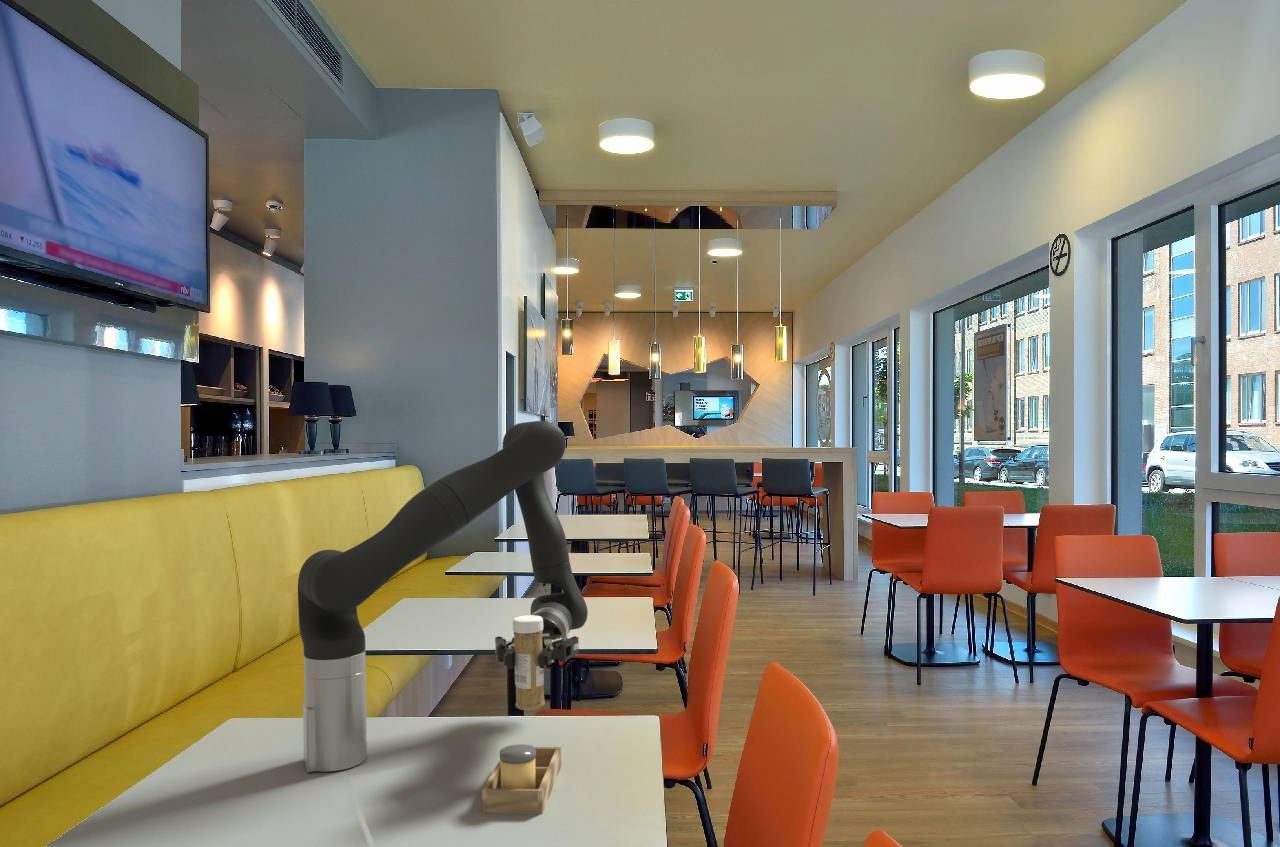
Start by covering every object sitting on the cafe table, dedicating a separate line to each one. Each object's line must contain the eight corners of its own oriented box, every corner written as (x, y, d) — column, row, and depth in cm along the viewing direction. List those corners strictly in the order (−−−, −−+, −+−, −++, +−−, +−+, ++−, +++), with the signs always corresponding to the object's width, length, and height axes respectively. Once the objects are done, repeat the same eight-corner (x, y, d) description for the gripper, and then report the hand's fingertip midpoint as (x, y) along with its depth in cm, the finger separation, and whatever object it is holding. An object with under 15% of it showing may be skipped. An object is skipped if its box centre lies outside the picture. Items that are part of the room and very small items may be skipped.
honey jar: (506, 810, 117) (505, 760, 117) (495, 796, 121) (495, 748, 122) (541, 802, 119) (540, 753, 119) (529, 789, 124) (529, 742, 124)
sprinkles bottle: (550, 707, 130) (548, 617, 130) (523, 713, 128) (521, 622, 128) (536, 699, 134) (534, 612, 134) (509, 705, 131) (507, 617, 131)
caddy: (542, 817, 116) (542, 790, 116) (482, 816, 117) (481, 790, 117) (561, 770, 132) (560, 747, 132) (508, 769, 132) (507, 746, 132)
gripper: (502, 611, 145) (477, 636, 128) (586, 611, 145) (573, 636, 128) (502, 656, 145) (478, 687, 128) (587, 656, 145) (573, 687, 128)
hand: (525, 661), depth 128 cm, fingers closed on sprinkles bottle, 4 cm apart
